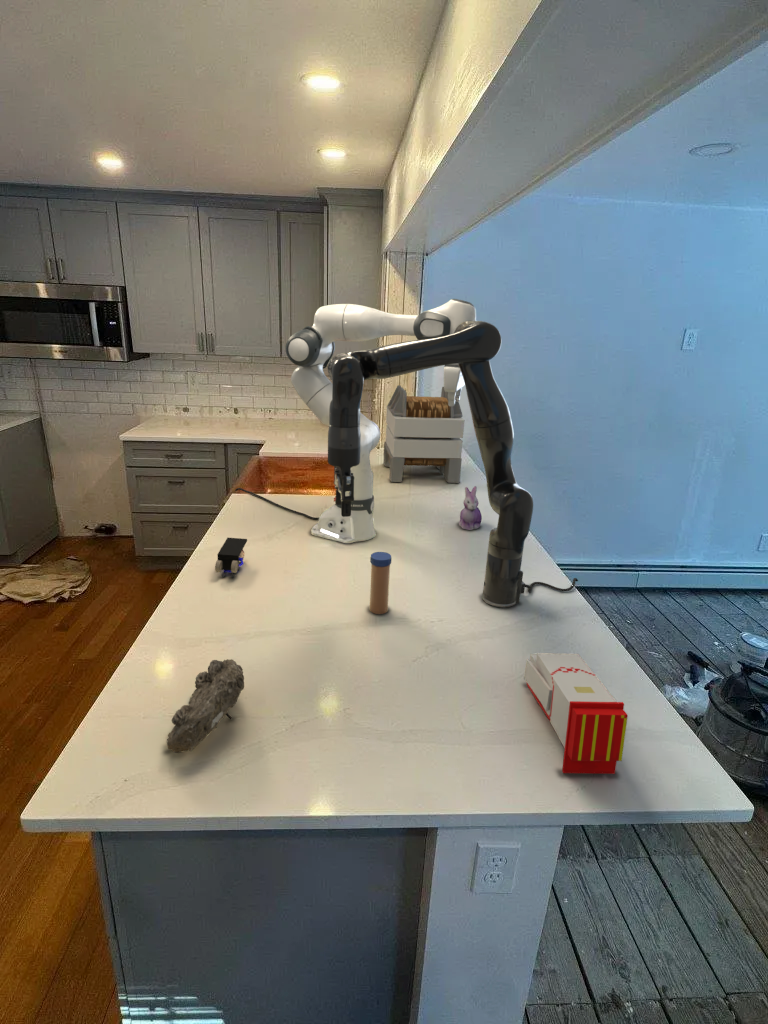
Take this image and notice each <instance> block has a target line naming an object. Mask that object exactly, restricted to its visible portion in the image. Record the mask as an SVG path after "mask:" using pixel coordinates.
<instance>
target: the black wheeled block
mask: <svg viewBox="0 0 768 1024" xmlns="http://www.w3.org/2000/svg"><path fill="white" fill-rule="evenodd" d="M247 542H248V538H240V537H226V539H225V541H224V543H223V544H222V546H221V547H220V549H219V551H218V552H217V560H216V562H215V564H214V572H215V573H221V577H222V578H224V577H225V576H226V574H227V573H230V574H231V573H232V574H231V578H234V577H235V575H236V573H237V572H239V571H240V567H242V566H243V565H244V564H245V562H244V558H245V551H244V547H245V546H246V544H247Z"/></svg>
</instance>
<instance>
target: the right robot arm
mask: <svg viewBox="0 0 768 1024" xmlns="http://www.w3.org/2000/svg"><path fill="white" fill-rule="evenodd" d="M502 343H503V342H502V335H501V332H500V330H499V329H498V328H497V327H496V326H495V325H494V324H493V323H491V322H489V321H485V320H477V319H476V320H469V321H464V322H462V323H461V324H459V325H458V326H457V328H456V329H455V331H454V334H451V335H448V336H443V337H438V338H432V339H424V340H418V339H415V340H408V341H401V342H395V343H391V344H390V343H389V344H386V345H381V346H378V347H374V348H371V349H370V348H369V349H363V350H354V351H347V352H343V353H338V354H336V355H334V356H332V357H331V359H330V360H329V362H328V364H327V368H326V369H327V375H328V377H329V380H330V381H331V383H332V384H333V388H332V401H331V402H330V407H329V427H328V432H327V463H328V465H330V466H331V467H333V469H334V470H333V486H334V489H335V496H336V504H337V505H341V515H342V516H343V517H349V516H351V501H354V476H353V473H351V467H353V466H357V465H359V463H360V441H361V433H360V412H361V402H362V397H363V390H364V381H367V380H372V379H376V380H384V379H389V378H394V377H398V376H403V375H407V374H411V373H415V372H416V373H417V372H419V371H423V370H427V369H432V368H437V367H442V366H443V367H444V366H445V365H449V364H457V363H458V364H459V367H460V370H461V373H462V376H463V379H464V382H465V385H464V387H465V391H466V397H467V401H468V406H469V410H470V415H471V420H472V425H473V429H474V433H475V438H476V441H477V445H478V448H479V453H480V457H481V460H482V464H483V467H484V468H483V469H484V472H485V480H486V489H487V497H488V502H489V506H490V507H491V510H493V511H494V512H495V513H496V514H497V515H498V520H497V524H496V525H497V526H496V527H494V528H491V530H490V532H489V536H488V543H487V544H488V546H487V554H486V561H485V562H486V563H485V571H484V580H483V589H482V593H481V595H482V596H481V599H482V601H484V603H486V604H488V605H489V606H492V607H497V608H511V607H513V606H516V604H520V600H521V595H524V594H525V590H526V589H525V588H527V592H529V593H532V591H533V587H534V586H536V585H539V586H545V587H548V588H550V589H552V590H555V591H558V592H569V591H571V590H573V589H574V587H575V586H576V582H579V579H578V578H577V577H574V578H573V579H572V582H571V585H570V587H567V588H560V587H557V586H554V585H551V584H549V583H546V582H543V581H533V582H532V583H530V585H529V584H526V583H525V582H524V581H523V576H524V571H523V570H522V561H523V555H524V554H523V552H524V547H525V541H526V540H527V538H528V535H529V533H530V528H531V525H532V524H531V523H532V518H533V513H534V512H533V511H534V499H533V496H532V494H531V493H530V492H529V491H528V490H527V489H525V488H523V487H522V486H521V485H519V484H518V482H517V479H516V477H515V473H514V470H513V465H512V452H513V448H514V441H515V433H514V432H515V431H514V426H513V421H512V417H511V412H510V408H509V406H508V404H507V401H506V399H505V397H504V395H503V393H502V391H501V389H500V387H499V386H498V383H497V382H496V380H495V377H494V374H493V371H492V370H493V369H492V366H491V360H492V359H494V358H495V357H496V356H497V355H498V353H499V352H500V350H501V347H502ZM345 492H348V493H349V496H345ZM572 585H573V586H572Z"/></svg>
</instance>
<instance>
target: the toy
mask: <svg viewBox="0 0 768 1024" xmlns="http://www.w3.org/2000/svg"><path fill="white" fill-rule="evenodd" d="M523 679H524V681H525V682H526V686H527V688H528V689H529V691H530V693H531V694H532V695H533V697H534V699H535V701H536V702H537V704H538V705H539V706H540V708H541V710H542V711H543V713H544V715H545V717H546V718H547V719H548V721H550V722H549V723H550V725H551V727H552V728H553V730H554V732H555V733H556V735H557V737H558V739H559V741H560V743H561V744H562V745H563V748H564V750H563V751H564V752H563V761H562V769H561V771H562V774H595V775H596V774H597V775H598V774H599V775H600V774H601V775H606V774H607V775H608V774H609V775H615V774H616V770H617V762H622V760H623V755H624V754H623V753H624V746H625V738H626V732H627V725H628V723H627V722H628V713H627V712H626V711H625V710H624V708H625V703H624V702H623V701H617V700H616V698H614V696H613V695H612V694H611V693H610V691H609V690H608V689H607V687H606V686H605V685H604V683H602V681H601V679H599V678H598V676H597V675H596V674H595V672H594V671H593V670H592V669H591V668H590V666H589V665H588V664H587V663H586V661H585V660H584V659H583V658H582V657H581V655H580V654H579V653H552V652H551V653H546V652H537V653H530V654H529V659H528V658H527V659H526V661H525V668H524V674H523Z"/></svg>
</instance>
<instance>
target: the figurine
mask: <svg viewBox="0 0 768 1024" xmlns="http://www.w3.org/2000/svg"><path fill="white" fill-rule="evenodd" d="M477 490H478V488H477V486H476V485H475V486H473V488H472V489H471V491H470V489H469V487H468V486H465V487H464V494H465V495H464V496H465V497H464V499H463V502H462V503H463V507H464V508H463V509H462V510H461V511H460V514H459V522H458V525H459V526H460V527H461V529H463V530H468V531H473V530H477V529H479V528H480V527H481V524H482V520H483V516H482V512H481V509H480V508H479V507H478V506H479V500H478V497H477V492H478V491H477Z"/></svg>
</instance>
